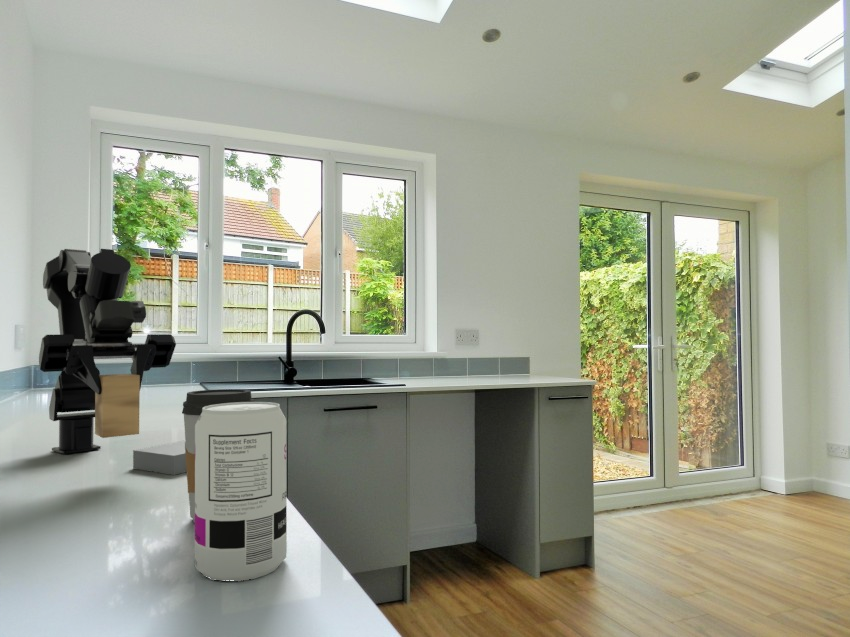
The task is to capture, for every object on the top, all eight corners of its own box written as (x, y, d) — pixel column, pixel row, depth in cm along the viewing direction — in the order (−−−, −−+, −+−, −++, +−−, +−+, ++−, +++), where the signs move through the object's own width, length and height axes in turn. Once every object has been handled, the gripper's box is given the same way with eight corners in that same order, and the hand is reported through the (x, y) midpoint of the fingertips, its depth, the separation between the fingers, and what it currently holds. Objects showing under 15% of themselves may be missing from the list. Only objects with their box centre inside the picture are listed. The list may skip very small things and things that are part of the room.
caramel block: (94, 433, 89) (95, 375, 89) (130, 430, 93) (130, 373, 93) (102, 438, 85) (103, 376, 86) (139, 434, 89) (139, 375, 89)
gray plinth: (133, 468, 96) (133, 450, 96) (184, 457, 105) (184, 440, 105) (173, 474, 91) (174, 455, 91) (223, 462, 100) (223, 445, 100)
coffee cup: (241, 529, 65) (242, 395, 65) (168, 529, 65) (168, 395, 66) (264, 507, 73) (264, 388, 74) (198, 507, 73) (199, 388, 74)
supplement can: (175, 574, 53) (175, 409, 53) (242, 545, 60) (242, 399, 60) (240, 592, 49) (240, 413, 49) (304, 558, 56) (304, 403, 57)
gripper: (42, 280, 87) (55, 356, 78) (172, 287, 99) (195, 353, 90) (34, 333, 92) (44, 409, 84) (158, 333, 104) (178, 399, 96)
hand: (119, 391), depth 88 cm, fingers closed on caramel block, 5 cm apart
